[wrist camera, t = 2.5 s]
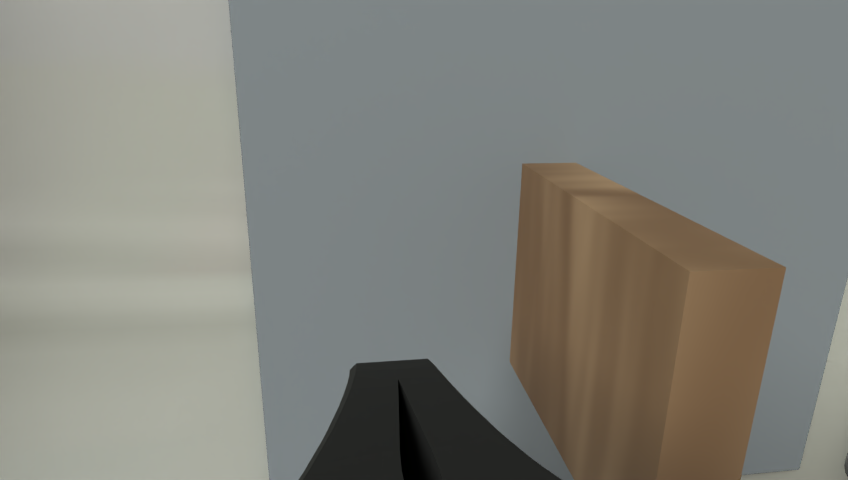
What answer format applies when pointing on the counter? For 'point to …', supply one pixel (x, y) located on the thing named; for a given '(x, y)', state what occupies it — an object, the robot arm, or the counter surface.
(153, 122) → the counter surface
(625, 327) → the walnut tile
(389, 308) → the rubber mat
